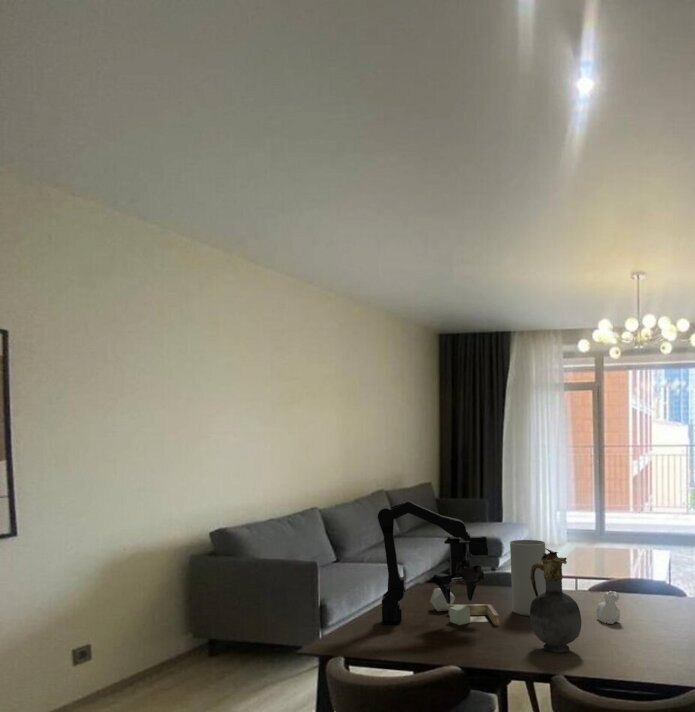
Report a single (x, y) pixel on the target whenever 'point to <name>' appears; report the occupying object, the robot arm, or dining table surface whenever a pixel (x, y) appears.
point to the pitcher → (554, 607)
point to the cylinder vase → (525, 573)
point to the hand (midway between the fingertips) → (459, 602)
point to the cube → (460, 614)
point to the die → (440, 600)
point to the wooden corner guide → (482, 613)
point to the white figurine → (609, 608)
